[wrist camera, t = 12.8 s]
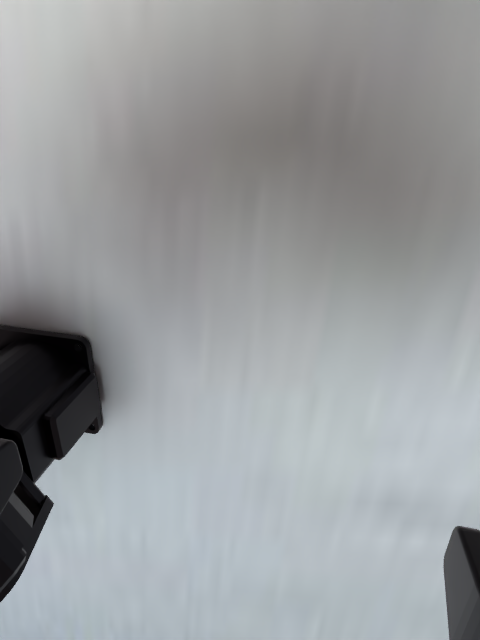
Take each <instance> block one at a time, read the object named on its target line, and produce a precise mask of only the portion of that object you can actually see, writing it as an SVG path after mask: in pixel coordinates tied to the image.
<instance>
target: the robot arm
mask: <svg viewBox="0 0 480 640" xmlns="http://www.w3.org/2000/svg"><path fill="white" fill-rule="evenodd" d="M78 344H80V345H81V346H82V348H81V347H79V346H78ZM100 412H101V405H100V399H99V392H98V385H97V379H96V376H95V374H94V367H93V361H92V354H91V348H90V344H89V342H88V340H87V339H86V338H84V337H81V336H75V335H68V334H60V333H53V332H46V331H38V330H31V329H23V328H16V327H9V326H1V325H0V602H1V601H2V600H3V599H4V598H5V596H6V595H7V594H8V593H9V592H10V591H11V589H12V588H13V586H14V585H15V584H16V582H17V581H18V579H19V578H20V576H21V574H22V572H23V570H24V568H25V566H26V564H27V561H28V559H29V557H30V555H31V553H32V550H33V548H34V546H35V544H36V542H37V540H38V537H39V535H40V533H41V531H42V529H43V526H44V524H45V522H46V520H47V518H48V515H49V513H50V511H51V509H52V507H53V504H54V503H53V502H52V501H51V500H50V498H49V497H48V496H47V495H45V496H44V494H43V493H42V492H41V491H40V490H39V488H38V487H37V486H36V485H35V482H36V481H37V480H38V479H39V478H40V476H41V475H42V474H43V473H44V472H45V470H46V469H47V468H48V467H49V465H50V464H51V463H52V462H53V461H54V459H57V460H61V459H62V458H63V457H65V455H66V454H67V453H68V452H69V451H70V449H71V448H72V447H73V446H74V444H75V443H76V442H77V441H78V439H79V438H80V437H81V436H82V434H83V433H84V432H86V433H92V434H96V433H98V431H99V430H100V429H101V427H102V419H101V413H100ZM92 424H93V425H94V426H93V425H92ZM444 578H445V590H446V603H447V615H448V627H449V639H450V640H480V531H479V530H477V529H473V528H468V527H462V526H456V527H455V528H454V530H453V532H452V535H451V538H450V541H449V544H448V546H447V549H446V552H445V556H444Z"/></svg>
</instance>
